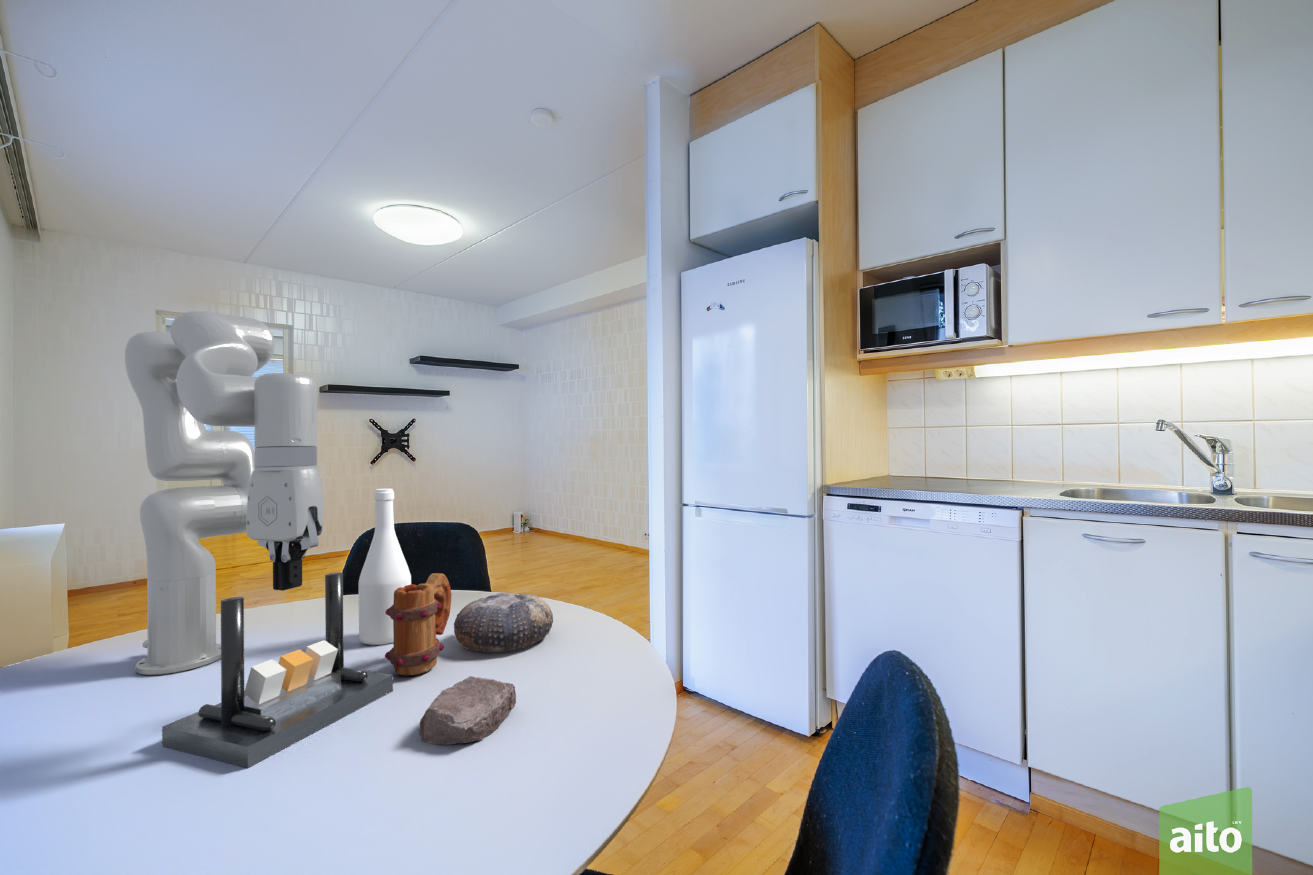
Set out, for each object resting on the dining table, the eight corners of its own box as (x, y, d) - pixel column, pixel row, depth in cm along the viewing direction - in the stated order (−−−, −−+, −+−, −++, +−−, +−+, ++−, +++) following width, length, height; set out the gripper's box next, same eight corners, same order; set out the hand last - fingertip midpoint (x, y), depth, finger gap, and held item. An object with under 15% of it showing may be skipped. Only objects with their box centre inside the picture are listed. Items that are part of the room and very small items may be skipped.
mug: (419, 683, 89) (418, 590, 90) (374, 680, 91) (373, 588, 91) (467, 650, 104) (466, 570, 104) (428, 648, 105) (427, 569, 106)
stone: (472, 754, 69) (471, 716, 69) (412, 744, 71) (411, 707, 71) (522, 710, 80) (521, 677, 80) (469, 703, 83) (468, 671, 83)
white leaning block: (300, 670, 82) (307, 646, 82) (317, 663, 85) (324, 639, 84) (313, 680, 81) (321, 655, 81) (330, 672, 84) (338, 649, 83)
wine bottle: (381, 629, 118) (379, 487, 118) (421, 631, 116) (419, 487, 116) (347, 645, 108) (346, 491, 109) (391, 647, 106) (389, 490, 107)
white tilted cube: (243, 693, 75) (251, 666, 74) (264, 684, 77) (272, 659, 77) (258, 704, 74) (266, 677, 73) (279, 695, 76) (286, 669, 76)
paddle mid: (273, 681, 78) (280, 656, 78) (292, 673, 81) (299, 649, 81) (287, 691, 77) (295, 666, 77) (306, 683, 80) (313, 658, 80)
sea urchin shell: (545, 654, 100) (534, 599, 100) (443, 674, 100) (432, 620, 100) (563, 620, 119) (554, 574, 119) (477, 637, 119) (468, 591, 119)
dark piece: (162, 746, 72) (161, 601, 72) (317, 678, 92) (316, 566, 93) (247, 767, 66) (246, 611, 67) (392, 690, 87) (391, 572, 87)
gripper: (223, 461, 79) (224, 591, 79) (299, 459, 74) (300, 598, 74) (275, 460, 86) (276, 579, 86) (348, 458, 81) (349, 585, 81)
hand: (287, 587), depth 80 cm, fingers closed
